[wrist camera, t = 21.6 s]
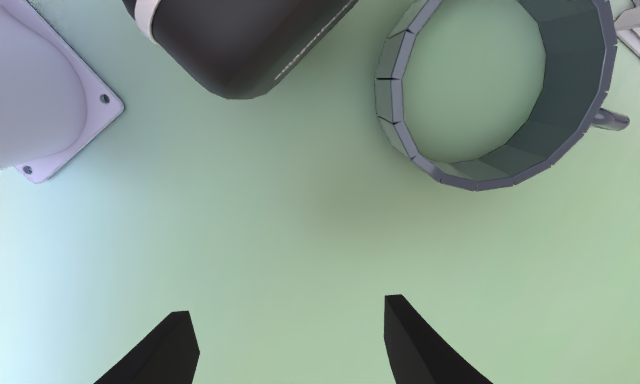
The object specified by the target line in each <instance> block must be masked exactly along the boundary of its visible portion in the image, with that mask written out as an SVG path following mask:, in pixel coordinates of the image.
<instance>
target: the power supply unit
mask: <svg viewBox="0 0 640 384" xmlns="http://www.w3.org/2000/svg"><path fill="white" fill-rule="evenodd" d="M633 2H634V4H635V6H636V7H635V8H634V9H629V10H625V11H623V13H622V14H621V15H620V16H619V18H618V19H617V20H616V21H615V23H614V26H615V31H616V35H617V36H618V37H619V38H620V39H621V40H622V41H623V42H624V43H625V44H626V45H627V46H628V47H629V48H630V49H631V50H632V51H634V52H635V53H636V54H637V55H638V56H639V57H640V0H633Z"/></svg>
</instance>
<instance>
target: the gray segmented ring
mask: <svg viewBox="0 0 640 384" xmlns="http://www.w3.org/2000/svg"><path fill="white" fill-rule="evenodd" d="M443 1H444V0H417V1H416V2H414V3H413V5H411V6H410V7H409V9H408V10H407V11H406V13H405V14H404V15H403V17H402V18H401V19H400V21H399V22H398V23H397V25H396V26H395V27H394V29H393V30H392V32H391V33H390V34H389V36H388V37H387V40H386V41H385V43H384V47H383V50H382V53H381V57H380V60H379V63H378V67H377V70H376V74H375V78H376V79H375V80H374V86H375V100H376V114H377V115H378V116H377V118H378V120H379V122H380V124H381V126H382V128H383V130H384V132H385V134H386V136H387V138H388V139H389V141H390V143H391V145H392V146H393V147H394V148H395V149H396V150H398V151H399V152H400V153H401V154H403V155H404V156H405V157H406V158H408V159H409V160H410V161H411V162H413V163H414V164H415V165H417V166H418V167H419V168H420V169H422V170H423V171H424V172H425V173H427V174H428V175H429V176H431V177H432V178H433V179H434V180H436V181H437V182H440V183H441V184H445V185H449V186H453V187H458V188H462V189H466V190H470V191H483V190H490V189H497V188H504V187H511V186H513V185H517V184H519V183H521V182H523V181H525V180H527V179H529V178H531V177H533V176H535V175H536V174H538V173H540V172H542V171H544V170H546V169H548V168H550V167H551V165H554V164H555V163H556V162H557V161H558V160H559V159H560V158H561V157H562V156H563V155H564V154H565V153H567V152H568V151H569V150H570V149H571V148H572V147H573V146H574V145H575V144H576V143H577V142H578V141H579V140H580V139H581V138H582V137H583V136H584V134H583V133H586V132H587V130H588V128H589V127H595V128H601V129H607V130H613V131H620V130H623V129H625V128H626V127H627V126H628V125H629V123H630V119H629V117H628V116H626V115H624V114H620V113H617V112H614V111H610V110H607V109H604V108H600V107H601V105H602V103H603V101H604V100H605V98H606V96H607V94H608V93H606V91H609V88H610V83H611V78H612V72H613V67H614V62H615V57H616V51H617V46H614V45H616V44H617V43H618V42H617V37H616V31H615V26H614V21H613V16H612V11H611V6H610V1H609V0H606V1H605V0H518V1H519V2H520V3H521V4H522V5H523V7H524V8H525V9H526V10H527V11H528V12H529V13H530V14H531V15H532V16H533V18H534V19H535V20H536V21H537V22H538V25H539V28H540V32H541V35H542V39H543V43H544V46H545V50H546V53H547V60H546V68H545V77H544V85H543V90H542V92H541V94H540V97H539V99H538V101H537V103H536V105H535V107H534V109H533V111H532V113H531V115H530V117H529V119H528V121H527V122H526V123H525V124H524V125H523V126H522V127H521V128H520V129H519V130H518V131H517V132H516V133H515V135H514V136H513V137H512V138H511V139H510V140H509V141H508V142H507V143H506V144H505V145H503V146H502V147H500V148H498V149H496V150H494V151H492V152H490V153H489V154H487V155H485V156H483V157H481V158H479V159H477V160H471V161H464V162H458V163H451V164H446V163H442V162H439V161H435V160H431V159H427V158H426V157H424V156H423V155H422V154H421V153H419V151H418V149H417V146H416V144H415V142H414V140H413V138H412V136H411V134H410V132H409V130H408V128H407V125H406V123H405V121H404V111H403V87H402V79H403V76H404V73H405V69H406V66H407V63H408V60H409V57H410V54H411V51H412V48H413V45H414V42H415V39H416V36H417V35H418V33H419V32H420V31H421V29H422V28H423V27H424V25H425V24H426V23H427V22H428V20H429V19H430V18H431V16H432V15H433V14H434V12H435V11H436V10H437V9H438V7H439V6H440V5H441V3H442V2H443Z"/></svg>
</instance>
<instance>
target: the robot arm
mask: <svg viewBox="0 0 640 384" xmlns="http://www.w3.org/2000/svg"><path fill="white" fill-rule="evenodd" d="M105 95H107V96H108V97H109V103H107V102H106V101H105V99H104V96H105ZM123 111H124V105H123V103H122V101H121V100H120V99H119V98H118V97H117V96H116V95H115V94H114V93H113V92H112V90H111V89H110V88H109V87H108V86H107V85H106V84H105V83H104V82H103V81H102V80H101V79H100V78H99V77H98V76H97V75H96V74H95V73H94V72H93V71H92V69H91V68H90V67H89V66H88V65H87V64H86V63H85V62H84V61H83V60H82V59H81V58H80V57H79V56H78V55H77V54H76V53H75V52H74V51H73V49H72V48H71V47H70V46H69V45H68V44H67V43H66V42H65V41H64V40H63V39H62V38H61V37H60V36H59V35H58V34H57V33H56V32H55V31H54V30H53V28H52V27H51V26H50V25H49V24H48V23H47V22H46V21H45V20H44V19H43V18H42V17H41V16H40V15H39V14H38V13H37V12H36V11H35V10H34V9H33V7H32V6H31V5H30V4H29V3H28V2H27V1H26V0H0V170H1V169H5V168H8V167H11V166H14V167H15V168H16V169H17V170H18V171H20V172H21V173H22V174H23V175H24V176H26V177H27V178H28V179H29V180H30V181H32V182H33V183H37V184H38V183H42V182H45V181H47V180H48V179H49V178H50V177H51V176H52V175H53V174H54V173H55V172H57V171H58V170H59V169H60V168H61V167H62V166H63V165H64V164H65V163H67V162H68V161H69V160H70V159H71V158H72V157H73V156H74V155H75V154H77V153H78V152H79V151H80V150H81V149H82V148H83V147H84V146H86V145H87V144H88V143H89V142H90V141H91V140H92V139H93V138H94V137H96V136H97V135H98V134H99V133H100V132H101V131H102V130H103V129H104V128H106V127H107V126H108V125H109V124H110V123H111V122H112V121H113V120H114V119H116V118H117V117H118V116H119V115H120V114H121V113H122V112H123ZM29 167H30V168H31V169H32V171H30V170H29ZM384 341H385V345H386V349H387V354H388V358H389V362H390V366H391V369H392V372H393V375H394V378H395V381H396V384H493V383H492V382H491V381H489V380H488V379H487V378H486V377H484V376H483V375H482V374H481V373H480V372H478V371H477V370H476V369H475V368H474V367H473V366H471V365H470V364H469V363H468V362H467V361H466V360H465V359H464V358H463V357H461V356H460V355H459V354H458V353H457V352H456V351H455V350H454V349H453V348H452V347H451V346H450V345H449V344H448V343H447V342H446V341H445V340H444V339H443V338H442V337H441V336H440V335H439V334H438V333H437V332H436V331H435V330H434V329H433V328H432V327H431V326H430V325H429V324H428V323H427V322H426V321H425V320H424V319H423V318H422V317H421V315H420V314H419V313H418V312H417V311H416V310H415V309H414V308H413V307H412V305H411V304H410V303H409V302H408V301H407V300H406V298H405V297H404V296H403V295H401V294H399V295H386V296H385V311H384ZM199 355H200V351H199V347H198V344H197V340H196V336H195V332H194V329H193V325H192V321H191V317H190V314H189V311H178V312H171V313H170V314H169V315H168V316H167V317H166V318H165V319H164V320H163V321H161V322H160V323H159V324H158V325H157V326H156V327H155V328H154V329H153V330H152V331H151V332H150V333H149V334H148V335H147V336H146V337H145V338H144V339H143V340H142V341H140V342H139V343H138V344H137V345H136V346H135V347H134V348H133V349H132V350H131V351H130V352H129V353H128V354H127V355H125V356H124V357H123V358H122V359H121V360H120V361H119V362H118V363H117V364H116V365H114V366H113V367H112V368H111V369H110V370H109V371H108V372H106V373H105V374H104V375H103V376H102V377H101V378H100V379H98V380H97V381H96V382H95V383H94V384H192V381H193V378H194V374H195V370H196V367H197V363H198V359H199Z"/></svg>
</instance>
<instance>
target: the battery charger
mask: <svg viewBox="0 0 640 384" xmlns="http://www.w3.org/2000/svg"><path fill="white" fill-rule="evenodd" d="M357 2H358V0H123V3H124V5H125V7H126V9H127V11H128V12H129V14H130V15H131V16H132V17H133V19H134V20H135V21H136V23H137V26H138V28H139V29H140V30H141V32H143V33H144V34H145V35H146V36H147V37H148V38H149V39H150V40H151V41H152V42H153V43H154V44H156V45H157V46H159V47H161V48H163V49H165V50H166V51H167V52H168V53H169V54H170V55H171V56H172V57H173V58H174V59H175V60H176V61H177V62H178V63H179V64H180V65H181V66H182V67H183V68H184V69H185V70H186V71H187V72H188V73H189V74H190V75H191V76H192V77H193V78H194V79H195V80H196V81H197V82H198V83H200V84H201V85H202V86H203V87H205V88H206V89H207V90H208V91H210V92H211V93H214V94H216V95H218V96H221V97H223V98H226V99H253V98H255V97H258V96H261V95H264V94H266V93H268V92H269V91H270V90H271V89H272V88H273V87H275V86H276V85H277V84H278V83H279V82H280V81H281V80H282V79H283V78H284V77H285V76H286V75H287V74H288V73H289V72H290V71H291V70H292V69H293V68H294V67H295V66H296V65H297V64H298V62H299V61H300V60H301V59H302V58H303V57H304V56H305V55H306V54H307V53H308V52H309V51H310V50H311V49H312V48H313V47H314V46H315V45H316V44H317V43H318V42H319V41H320V40H321V39H322V38H323V37H324V36H325V35H326V34H327V33H328V32H329V31H330V30H331V29H332V28H333V27H334V26H335V25H336V24H337V23H338V22H339V21H340V20H341V19H342V18H343V17H344V15H345V14H346V13H347V12H348V11H349V10H350V9H351V8H352V7H353V6H354V5H355V4H356V3H357Z"/></svg>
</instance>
